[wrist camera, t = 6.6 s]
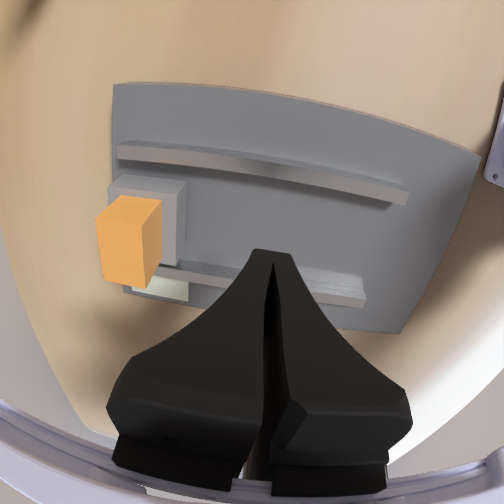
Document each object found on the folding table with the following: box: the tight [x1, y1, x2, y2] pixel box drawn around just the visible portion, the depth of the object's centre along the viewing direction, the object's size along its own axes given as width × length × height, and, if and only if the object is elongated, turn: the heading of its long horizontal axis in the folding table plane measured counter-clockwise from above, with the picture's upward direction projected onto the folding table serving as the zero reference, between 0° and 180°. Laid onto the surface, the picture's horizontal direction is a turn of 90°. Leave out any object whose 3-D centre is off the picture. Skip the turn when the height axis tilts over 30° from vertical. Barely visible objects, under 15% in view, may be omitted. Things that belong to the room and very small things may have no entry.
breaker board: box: [112, 82, 482, 334], centre depth 19 cm, size 22×15×3 cm
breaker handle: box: [95, 174, 187, 289], centre depth 16 cm, size 4×4×5 cm
